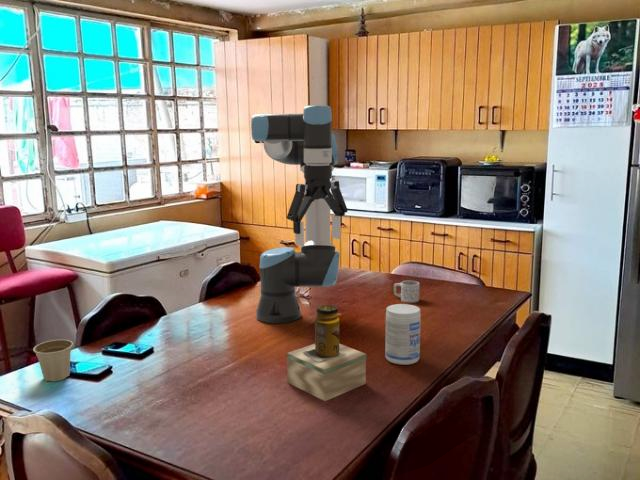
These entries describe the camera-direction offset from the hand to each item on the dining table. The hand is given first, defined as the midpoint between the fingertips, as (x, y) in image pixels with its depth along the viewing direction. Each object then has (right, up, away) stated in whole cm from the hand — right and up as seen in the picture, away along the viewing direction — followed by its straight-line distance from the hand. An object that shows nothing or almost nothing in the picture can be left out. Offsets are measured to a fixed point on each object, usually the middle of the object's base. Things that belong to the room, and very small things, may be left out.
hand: (318, 242), depth 163 cm
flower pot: (-69, -36, -8) cm, 78 cm away
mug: (+32, -22, +58) cm, 70 cm away
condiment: (+1, -28, -15) cm, 32 cm away
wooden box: (+2, -36, -13) cm, 38 cm away
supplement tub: (+23, -33, +2) cm, 40 cm away
